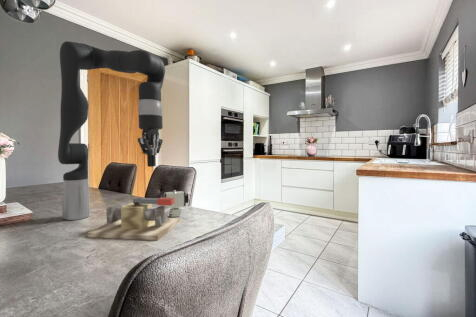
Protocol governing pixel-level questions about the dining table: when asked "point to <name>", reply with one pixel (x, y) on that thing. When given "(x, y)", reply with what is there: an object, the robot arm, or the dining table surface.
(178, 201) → the pneumatic valve
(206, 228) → the dining table surface
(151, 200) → the valve lever
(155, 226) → the valve base
